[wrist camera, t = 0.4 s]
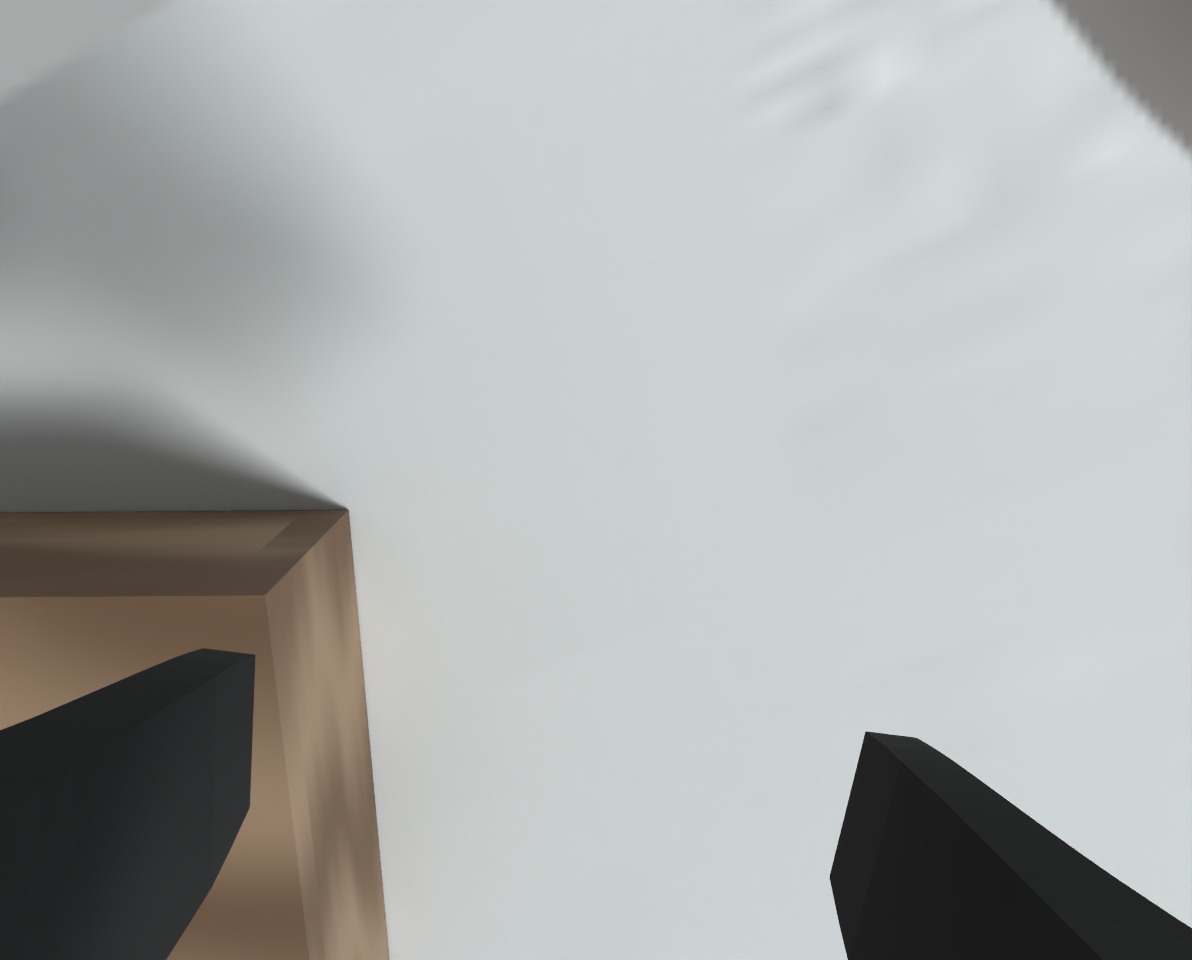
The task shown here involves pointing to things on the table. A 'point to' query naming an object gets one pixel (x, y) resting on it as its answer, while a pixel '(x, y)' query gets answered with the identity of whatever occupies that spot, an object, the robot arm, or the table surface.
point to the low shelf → (281, 695)
